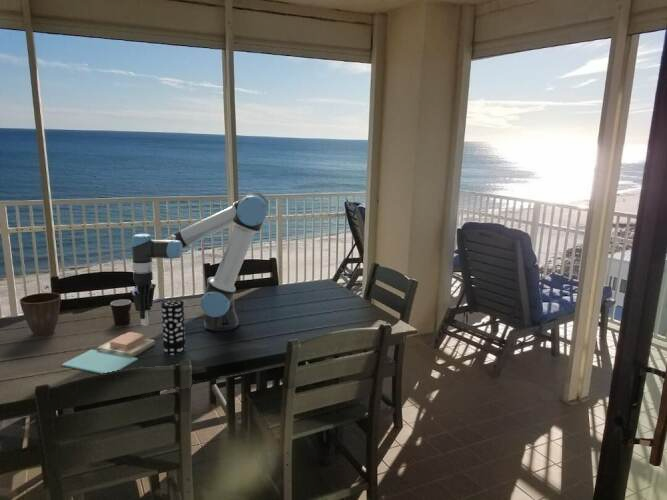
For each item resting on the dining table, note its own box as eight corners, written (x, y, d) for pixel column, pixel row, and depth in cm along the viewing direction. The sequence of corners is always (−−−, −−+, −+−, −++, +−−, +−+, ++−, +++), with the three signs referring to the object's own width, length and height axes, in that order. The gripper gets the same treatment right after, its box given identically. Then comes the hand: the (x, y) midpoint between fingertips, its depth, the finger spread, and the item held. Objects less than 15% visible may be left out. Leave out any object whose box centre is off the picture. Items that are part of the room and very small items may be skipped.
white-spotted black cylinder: (166, 346, 196) (164, 299, 192) (187, 346, 197) (185, 299, 193) (161, 355, 188) (158, 306, 184) (182, 354, 189) (180, 306, 184)
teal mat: (137, 359, 184) (137, 358, 183) (110, 375, 170) (110, 374, 170) (91, 350, 190) (91, 349, 190) (62, 365, 177) (61, 364, 177)
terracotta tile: (145, 339, 198) (145, 334, 197) (126, 349, 187) (126, 344, 187) (129, 336, 200) (129, 331, 200) (110, 346, 190) (109, 341, 189)
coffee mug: (125, 327, 214) (123, 306, 212) (107, 325, 216) (106, 304, 214) (140, 318, 226) (139, 298, 223) (123, 317, 227) (122, 296, 225)
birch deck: (154, 344, 197) (154, 340, 197) (131, 358, 184) (130, 353, 184) (122, 339, 202) (122, 334, 202) (97, 352, 189) (97, 347, 189)
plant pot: (27, 329, 210) (23, 294, 206) (65, 325, 215) (62, 291, 212) (20, 342, 196) (16, 304, 193) (62, 337, 202) (58, 301, 199)
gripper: (145, 266, 205) (147, 318, 210) (124, 273, 193) (126, 328, 198) (160, 268, 203) (162, 321, 208) (139, 276, 191) (141, 331, 196)
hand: (144, 324), depth 203 cm, fingers closed
